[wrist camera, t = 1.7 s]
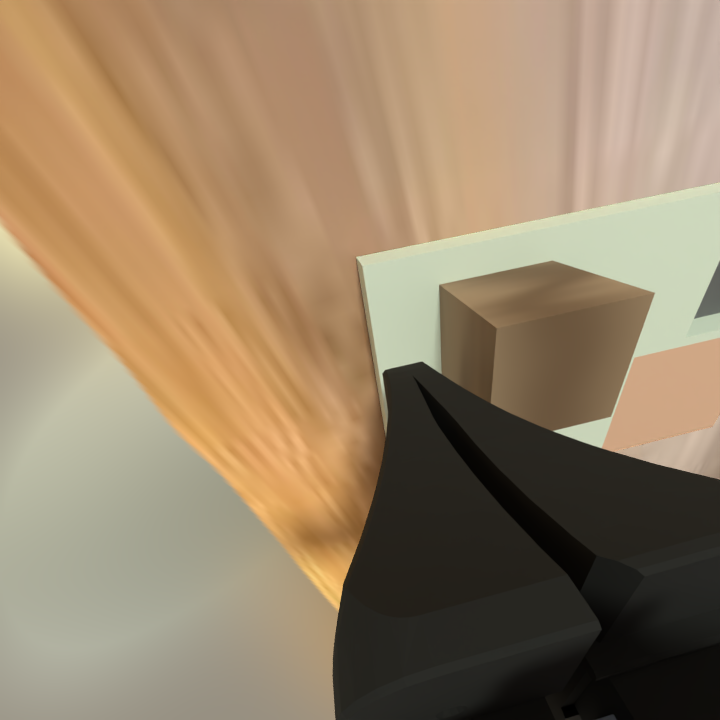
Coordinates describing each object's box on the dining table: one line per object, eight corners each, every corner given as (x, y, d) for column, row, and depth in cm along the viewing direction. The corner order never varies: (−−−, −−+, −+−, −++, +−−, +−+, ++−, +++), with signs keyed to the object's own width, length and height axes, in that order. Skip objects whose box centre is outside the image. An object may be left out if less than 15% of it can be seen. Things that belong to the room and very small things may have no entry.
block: (552, 260, 12) (655, 292, 8) (536, 359, 14) (611, 416, 11) (439, 284, 11) (496, 328, 8) (441, 381, 14) (487, 447, 10)
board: (816, 162, 13) (872, 160, 12) (686, 411, 20) (712, 426, 19) (356, 257, 12) (362, 266, 11) (393, 483, 19) (399, 505, 18)
